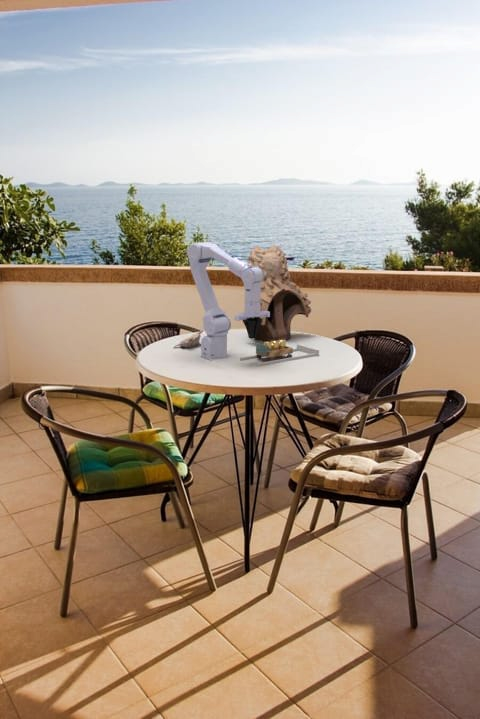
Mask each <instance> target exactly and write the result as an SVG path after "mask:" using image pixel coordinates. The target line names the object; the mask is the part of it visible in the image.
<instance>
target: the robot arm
mask: <svg viewBox="0 0 480 719" xmlns="http://www.w3.org/2000/svg"><path fill="white" fill-rule="evenodd" d="M186 255H187V257H188V261H189V268H190V272H191V275H192V278H193V280H194V283H195V286H196V289H197V292H198V294H199V298H200V300H201V303H202V305H203V309H204V312H205V313H204V314H203V316H202V317H201V318H202V322H203V331H204V332H205V333H206V336H203V337H201V339H200V340H201V341H200V346H201V347H200V354H201V356H199V357H200V358H202V359H205V360H207V361H209V362H210V361H211V362H212V360H214V359H221V358H226V357H227V356H228V334H229V331H230V329H231V327H232V321H231V319H230V317H228V316H227V313H226V311H225V310H223V309H222V308H220V306H219V303H218V300H217V297H216V295H215V291H214V289H213V286H212V284H211V280H210V277H209V275H208V272H207V267H208V265H209V264H210V263H211V262H212V260H213V259H215V260H216V261H218V262H221V263H222V264H224V265H226V266H227V267H228V270H229V272H231V273H232V274H234V275H236V276H238V277H239V278H240V279H241V280H242V281H241V282H242V283H243V288H244V312H241V313H238V314H234V315H233V316H234V318H233V319H234V321H236V322H240V321H242V322H243V325H244V327H245V328H246V332H247V337H248V339H251V340H253V339H254V340H255V338H256V335H257V331H258V328H259V326H260V324H261V323H262V319H260V318H261V317H270V312H269V311H260V301H261V282H262V281H263V279H264V272H263V270H262V269H261V268H260V267H253V266H252V264H248V261H245V260H243V259H244V258H243V257H242V256H236V257H232V256H231V255H229V254H228V253H227V252H226V251H224V249H221V248H220V247H219V246H218V245H217V243H214V242H212V241H205V242H192V243H191V244H189V246H188V248H187V251H186Z"/></svg>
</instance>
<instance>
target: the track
mask: <svg viewBox="0 0 480 719" xmlns="http://www.w3.org/2000/svg"><path fill="white" fill-rule="evenodd" d="M293 352H302V353H305V354H303V355H298V356H292V357H291V358H287V357H286V358H281V359H275V360H274V361H269V360H268V361H264V362H259V363H256V367H261V366H266V365H273V364H279V363H285V362H289V361H296V360H300V359H306V358H312V357H319V356H320V349H316V348H313V347H311V346H307V345H303V344H299V343H297V344H296V348H293ZM256 355H257V354H256ZM256 355H249V356H243V357H239V361H247V360H253V359H258V358H257V356H256ZM261 358H264V356H262V357H261Z"/></svg>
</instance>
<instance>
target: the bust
mask: <svg viewBox="0 0 480 719" xmlns="http://www.w3.org/2000/svg"><path fill="white" fill-rule="evenodd" d="M285 256H286V253H285V252H284V251H282V249H281V248H280V247H279V246H277V245H276V244H272V245H270V246H269V248H268V249H265V248H263V247H261V246H258V245H256V246H255V247H253V250H251V251H250V253H249V256H247V257H248V261H247V263H248V264H252V266H253V267H260V268H261V269H262V270H263V272H264V279H263V281H262V282H261V301H260V311H269V312H270V317H261V318H260V319H262V323H261V324H260V326H259V328H258V331H257V335H256V338H255V339H254V340H255V341H260V342H265V341H270V342H271V341H272V340H278V339H285V340H286V341H288V340H290V339H292V336H291V335H292V333H291V332H292V331H291V323H292V321H293V318H294V317H295V316H297V315H302V316H305V317H306V318H309V315H310V313H311V312H312V308H311V307H310V306H309V305H311V303H312V301H311V300H309V299H308V297H309V296H308V293H307V292H304V291H302V290H301V288H300V286H297V284H296V283H295V282H293V281H292V279H291V278H292V277H291V275H290V271H289V269H288V265H287V263H288V260H287V257H285Z"/></svg>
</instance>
